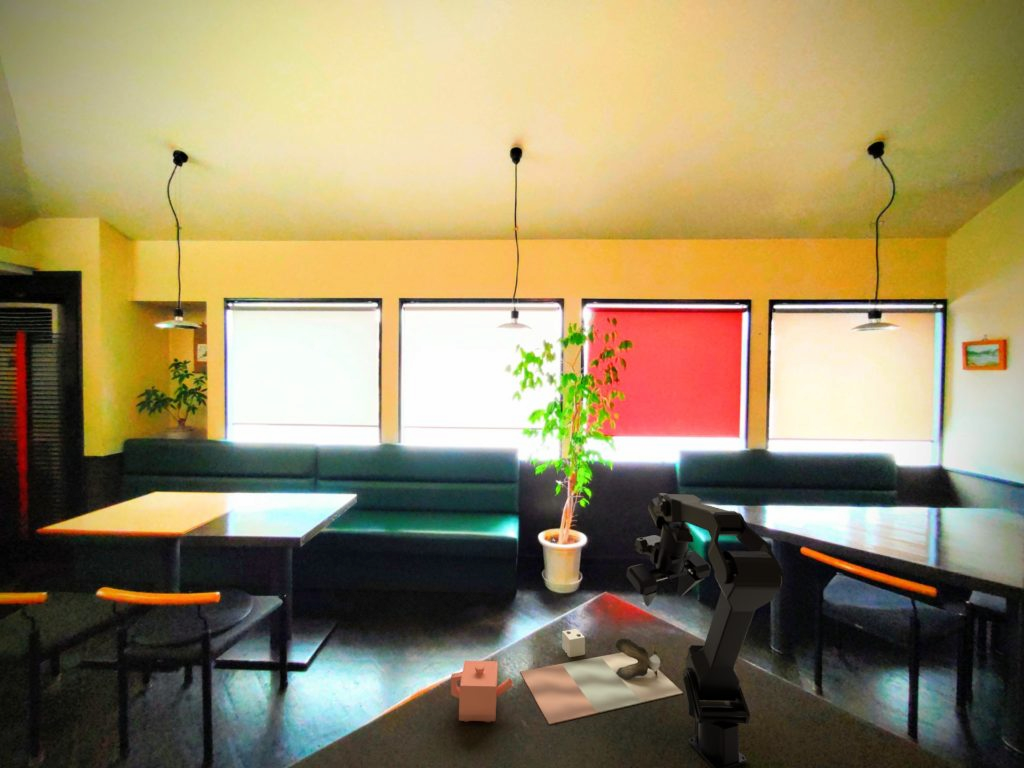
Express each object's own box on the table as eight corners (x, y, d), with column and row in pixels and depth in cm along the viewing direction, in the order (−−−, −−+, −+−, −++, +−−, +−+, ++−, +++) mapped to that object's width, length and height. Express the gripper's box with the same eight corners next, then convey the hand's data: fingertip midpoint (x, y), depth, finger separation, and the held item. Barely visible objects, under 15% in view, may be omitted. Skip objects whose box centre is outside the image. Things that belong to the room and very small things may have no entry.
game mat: (683, 693, 85) (683, 692, 85) (549, 724, 76) (549, 723, 76) (636, 650, 100) (636, 649, 100) (520, 672, 91) (520, 671, 91)
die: (584, 654, 98) (584, 636, 98) (569, 657, 97) (569, 639, 97) (577, 645, 102) (577, 628, 102) (562, 648, 101) (562, 630, 101)
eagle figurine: (649, 654, 96) (611, 647, 96) (660, 637, 93) (620, 629, 93) (656, 691, 90) (615, 683, 90) (668, 674, 86) (626, 666, 86)
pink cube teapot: (512, 727, 75) (513, 680, 76) (447, 726, 75) (448, 678, 76) (512, 698, 83) (513, 655, 83) (453, 696, 83) (454, 653, 84)
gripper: (683, 515, 101) (673, 566, 106) (616, 530, 95) (609, 583, 100) (717, 545, 91) (705, 600, 96) (646, 564, 85) (636, 621, 90)
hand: (663, 599), depth 96 cm, fingers open, 9 cm apart
